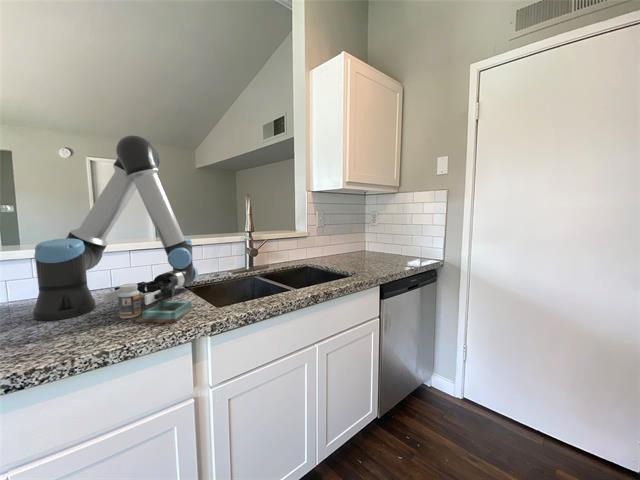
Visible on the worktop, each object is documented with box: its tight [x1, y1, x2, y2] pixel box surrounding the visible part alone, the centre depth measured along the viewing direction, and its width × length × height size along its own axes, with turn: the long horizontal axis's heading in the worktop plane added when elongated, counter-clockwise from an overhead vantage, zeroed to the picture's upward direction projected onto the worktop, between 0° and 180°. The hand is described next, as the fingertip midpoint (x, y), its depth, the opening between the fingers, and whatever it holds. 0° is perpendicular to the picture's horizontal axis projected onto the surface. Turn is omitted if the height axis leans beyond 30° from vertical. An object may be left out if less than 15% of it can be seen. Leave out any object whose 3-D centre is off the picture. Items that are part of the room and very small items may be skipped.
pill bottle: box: [117, 282, 142, 320], centre depth 90 cm, size 6×6×10 cm
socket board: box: [135, 301, 192, 324], centre depth 90 cm, size 12×10×3 cm
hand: (125, 299), depth 87 cm, fingers open, 13 cm apart
